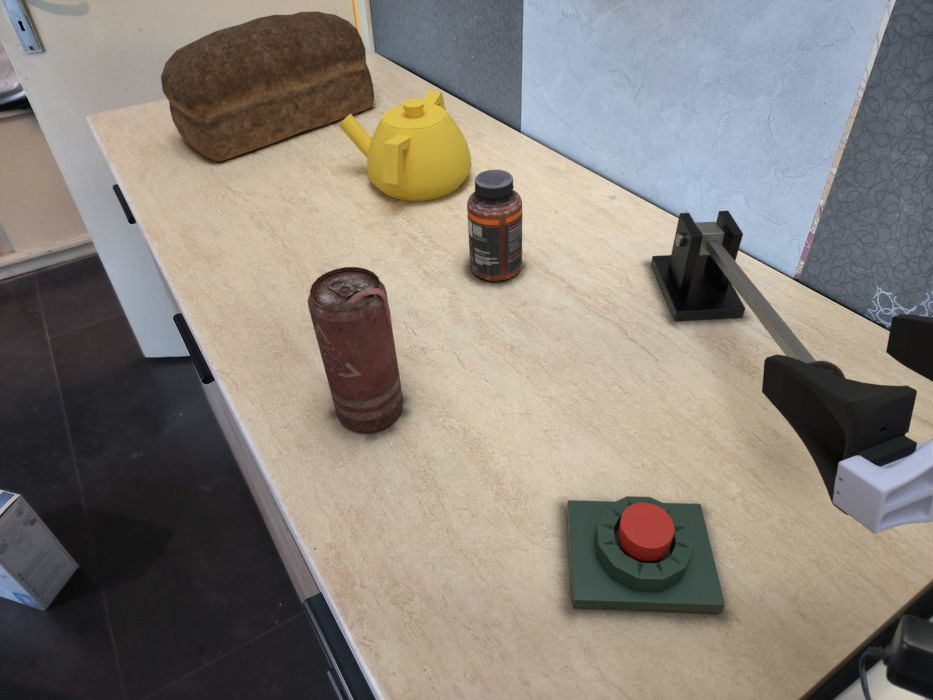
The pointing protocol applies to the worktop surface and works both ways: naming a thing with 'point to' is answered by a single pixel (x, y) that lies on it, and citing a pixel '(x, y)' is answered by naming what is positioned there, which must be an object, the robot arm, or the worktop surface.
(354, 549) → the worktop surface
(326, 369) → the can
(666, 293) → the bracket
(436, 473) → the worktop surface
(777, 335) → the grey lever handle
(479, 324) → the worktop surface
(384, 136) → the teapot
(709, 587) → the button box
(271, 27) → the bread
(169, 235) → the worktop surface
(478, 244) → the supplement bottle
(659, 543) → the button
